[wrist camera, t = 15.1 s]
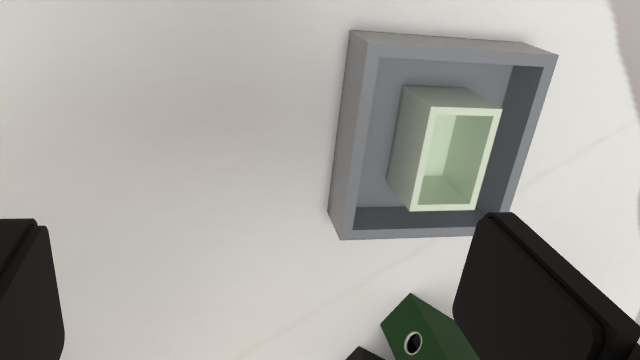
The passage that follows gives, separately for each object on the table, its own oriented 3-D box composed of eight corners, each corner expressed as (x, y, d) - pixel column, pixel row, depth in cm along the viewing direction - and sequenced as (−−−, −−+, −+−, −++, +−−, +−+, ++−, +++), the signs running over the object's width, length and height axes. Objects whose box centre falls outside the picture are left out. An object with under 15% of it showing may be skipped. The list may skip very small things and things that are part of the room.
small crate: (444, 178, 46) (474, 209, 41) (385, 178, 45) (409, 211, 39) (465, 87, 42) (502, 109, 37) (402, 84, 41) (431, 106, 35)
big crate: (475, 208, 50) (501, 234, 45) (327, 211, 46) (339, 240, 42) (522, 42, 42) (558, 55, 38) (349, 30, 39) (368, 42, 34)
